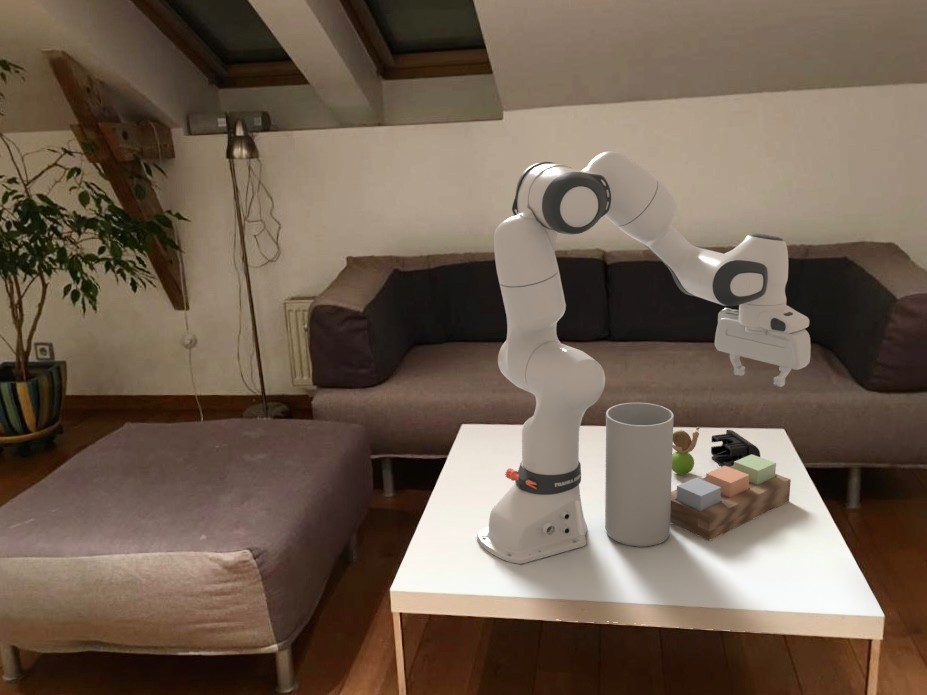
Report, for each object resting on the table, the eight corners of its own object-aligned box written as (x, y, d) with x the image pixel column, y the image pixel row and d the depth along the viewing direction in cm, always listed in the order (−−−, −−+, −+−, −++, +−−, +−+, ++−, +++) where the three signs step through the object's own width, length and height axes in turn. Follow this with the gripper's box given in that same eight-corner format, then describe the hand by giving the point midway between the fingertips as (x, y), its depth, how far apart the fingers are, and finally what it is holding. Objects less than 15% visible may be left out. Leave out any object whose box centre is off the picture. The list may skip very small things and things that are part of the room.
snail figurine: (692, 481, 185) (694, 431, 182) (665, 475, 189) (666, 425, 186) (701, 472, 189) (703, 423, 186) (674, 466, 193) (676, 418, 190)
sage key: (757, 488, 172) (758, 470, 171) (733, 479, 176) (733, 461, 175) (774, 480, 175) (776, 462, 174) (750, 471, 180) (751, 454, 179)
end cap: (759, 471, 189) (761, 443, 187) (731, 475, 188) (732, 447, 186) (736, 454, 198) (738, 428, 197) (709, 458, 197) (710, 431, 195)
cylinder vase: (624, 511, 173) (625, 398, 166) (680, 528, 165) (684, 410, 158) (593, 536, 163) (593, 417, 156) (651, 555, 156) (654, 430, 149)
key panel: (708, 540, 160) (709, 517, 159) (660, 518, 169) (661, 495, 168) (789, 501, 174) (790, 479, 173) (740, 482, 184) (742, 461, 182)
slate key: (700, 514, 162) (701, 496, 161) (676, 504, 166) (676, 485, 165) (720, 505, 165) (721, 487, 164) (695, 495, 170) (696, 477, 169)
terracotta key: (729, 501, 167) (730, 483, 166) (705, 491, 171) (706, 473, 170) (748, 492, 170) (749, 474, 169) (724, 483, 175) (724, 465, 174)
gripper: (709, 309, 172) (707, 372, 176) (798, 326, 156) (793, 395, 160) (728, 303, 176) (726, 365, 180) (817, 320, 160) (812, 388, 164)
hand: (758, 380), depth 170 cm, fingers open, 8 cm apart
